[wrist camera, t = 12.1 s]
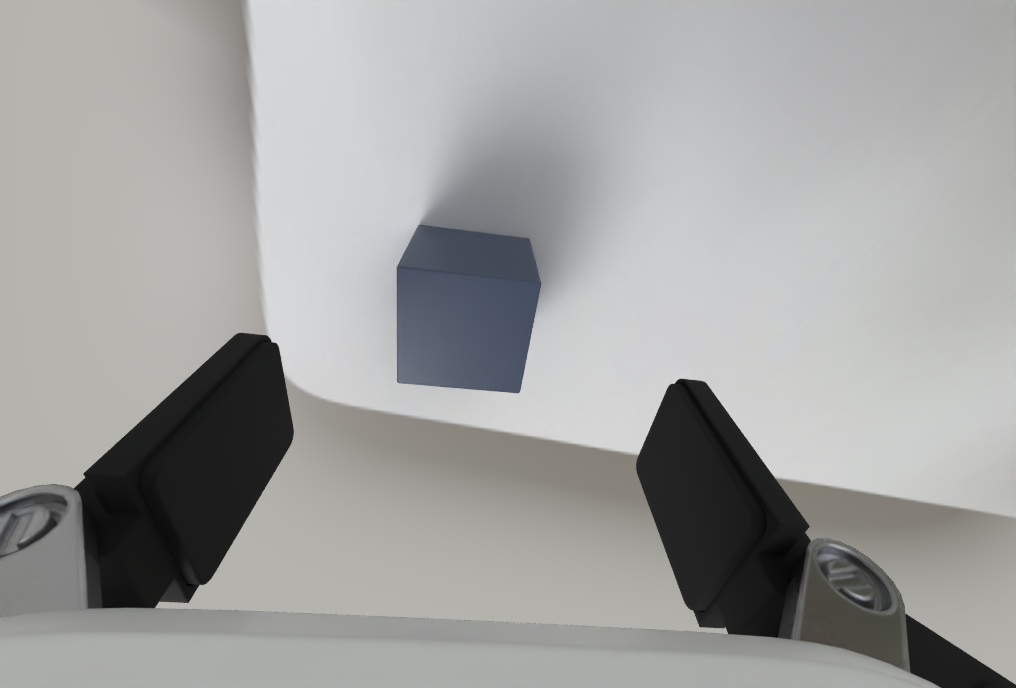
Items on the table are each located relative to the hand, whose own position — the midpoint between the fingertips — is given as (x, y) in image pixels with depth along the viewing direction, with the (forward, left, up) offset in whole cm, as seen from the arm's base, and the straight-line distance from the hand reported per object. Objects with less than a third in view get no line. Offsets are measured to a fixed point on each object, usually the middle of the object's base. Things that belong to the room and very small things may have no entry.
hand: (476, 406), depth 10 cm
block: (0, 0, -7) cm, 7 cm away
